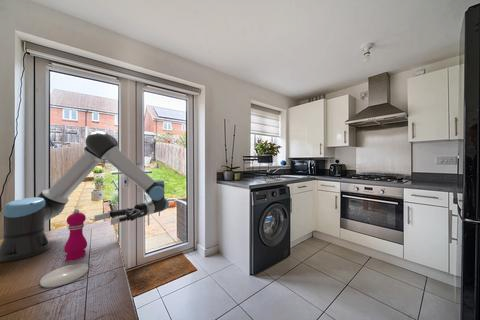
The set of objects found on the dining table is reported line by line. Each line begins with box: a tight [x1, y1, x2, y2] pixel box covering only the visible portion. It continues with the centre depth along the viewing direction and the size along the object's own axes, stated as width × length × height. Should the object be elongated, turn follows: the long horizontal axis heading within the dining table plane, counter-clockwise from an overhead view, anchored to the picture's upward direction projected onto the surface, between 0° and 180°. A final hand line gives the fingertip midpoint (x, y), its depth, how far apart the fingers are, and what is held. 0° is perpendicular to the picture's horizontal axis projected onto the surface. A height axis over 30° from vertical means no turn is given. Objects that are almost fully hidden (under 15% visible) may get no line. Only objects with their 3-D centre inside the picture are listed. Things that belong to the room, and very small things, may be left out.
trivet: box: [39, 263, 89, 289], centre depth 63 cm, size 12×12×1 cm
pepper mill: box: [63, 208, 88, 262], centre depth 76 cm, size 7×7×20 cm
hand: (102, 220), depth 85 cm, fingers open, 13 cm apart
